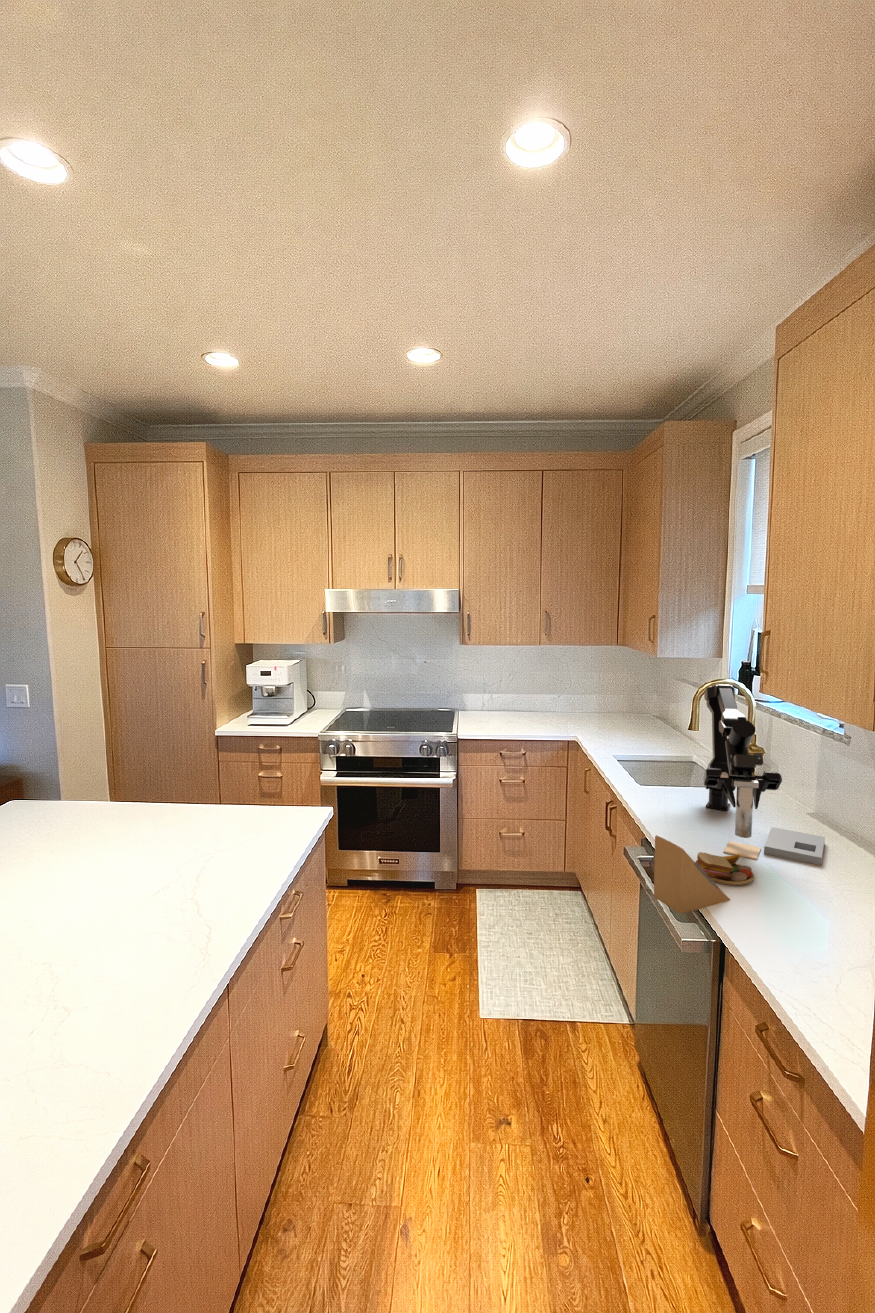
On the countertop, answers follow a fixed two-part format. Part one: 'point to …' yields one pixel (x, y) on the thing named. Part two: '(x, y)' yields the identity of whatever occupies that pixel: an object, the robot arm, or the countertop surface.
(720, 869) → the toy sandwich meal
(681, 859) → the sandwich container
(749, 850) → the coaster
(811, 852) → the cover plate
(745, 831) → the t key
